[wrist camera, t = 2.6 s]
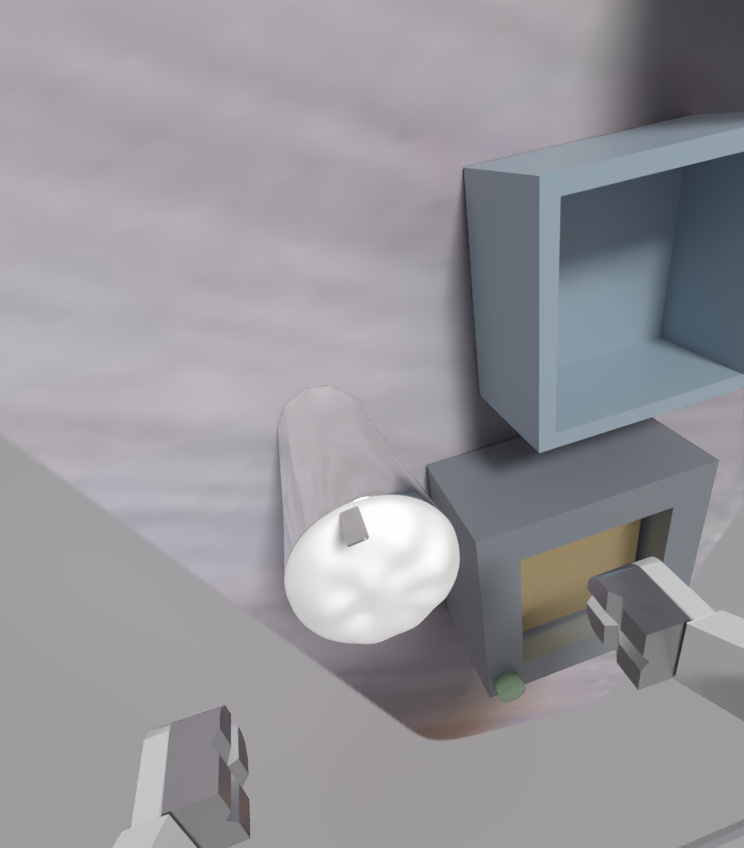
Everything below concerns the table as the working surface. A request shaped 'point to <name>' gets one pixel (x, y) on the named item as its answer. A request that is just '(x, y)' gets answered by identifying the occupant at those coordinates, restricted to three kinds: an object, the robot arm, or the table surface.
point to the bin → (609, 277)
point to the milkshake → (356, 525)
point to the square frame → (560, 533)
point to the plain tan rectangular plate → (572, 573)
